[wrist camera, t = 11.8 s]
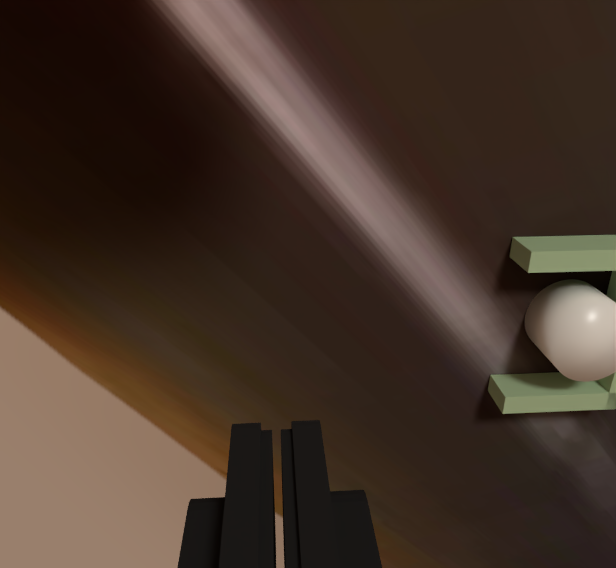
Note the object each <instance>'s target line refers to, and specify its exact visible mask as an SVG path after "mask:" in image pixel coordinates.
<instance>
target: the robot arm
mask: <svg viewBox="0 0 616 568" xmlns="http://www.w3.org/2000/svg"><path fill="white" fill-rule="evenodd" d="M281 455H282V494H283V531H284V532H283V533H284V560H285V561H284V564H285V568H382V565H381V560H380V556H379V551H378V547H377V542H376V538H375V533H374V529H373V524H372V520H371V515H370V510H369V506H368V501H367V498H366V494H365V492H364V490H352V491H333V492H330V489H329V482H328V475H327V468H326V461H325V454H324V446H323V439H322V432H321V425H320V421H319V420H312V421H292V429H285V430H281ZM275 541H276V538H275V507H274V478H273V449H272V430H263V431H261V423H246V424H232V429H231V439H230V450H229V461H228V472H227V482H226V493H225V497H223V498H205V499H204V498H202V499H191V500H190V502H189V506H188V510H187V516H186V522H185V528H184V533H183V540H182V545H181V551H180V557H179V562H178V568H276V542H275Z"/></svg>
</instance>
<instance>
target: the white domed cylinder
mask: <svg viewBox="0 0 616 568" xmlns="http://www.w3.org/2000/svg"><path fill="white" fill-rule="evenodd" d="M524 324H525V330H526V333H527V335H528V337H529V338H530V339H531V341H532V342H533V343H534V344H535V345H536V346H537V347H538V348H539V349H540V351H541V352H542V353H543V354H544V355H545V356H546V357H547V358H548V359H549V361H550V362H551V363H552V364H553V365H554V366H555V367H556V368H557V369H558V370H559V372H560V373H561V374H563V375H564V376H565V377H567V378H569V379H572V380H575V381H582V382H589V381H595V380H599V379H602V378H605V377H607V376H609V375H611V374H613V373H615V372H616V303H615V302H614V301H613V300H611V299H610V298H609V297H607V296H606V295H604V294H603V293H602V292H600V291H599V290H598V289H596V288H595V287H593V286H592V285H591V284H589V283H587V282H585V281H582V280H576V279H568V280H562V281H558V282H556V283H553V284H551V285H549V286H547V287H546V288H544V289H543V290H542V291H540V292H539V293H538V294H537V295H536V296H535V297H534V299H533V300H532V301H531V303H530V305H529V306H528V309H527V311H526V314H525V322H524Z"/></svg>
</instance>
